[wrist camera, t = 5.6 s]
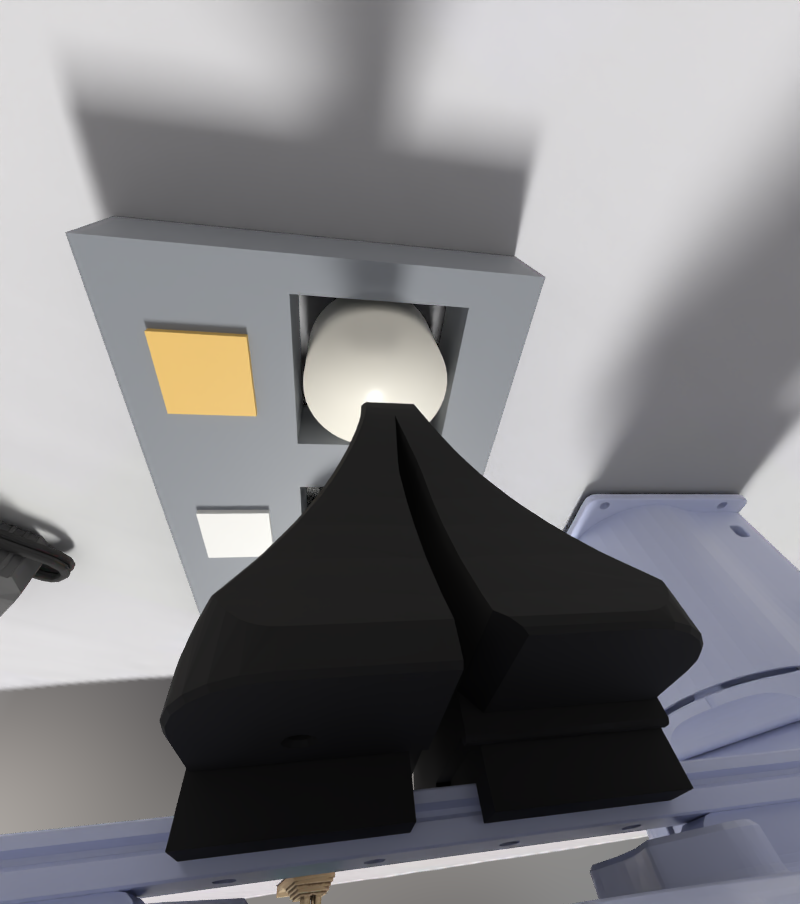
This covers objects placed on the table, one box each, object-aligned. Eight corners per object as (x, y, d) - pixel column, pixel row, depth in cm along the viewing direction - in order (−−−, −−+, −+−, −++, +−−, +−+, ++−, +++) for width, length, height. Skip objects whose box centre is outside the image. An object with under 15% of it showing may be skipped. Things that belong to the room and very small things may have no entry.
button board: (514, 256, 13) (548, 279, 11) (422, 609, 26) (429, 651, 24) (113, 216, 11) (60, 234, 9) (226, 618, 24) (215, 664, 22)
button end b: (442, 294, 13) (459, 322, 11) (422, 407, 16) (434, 446, 14) (306, 283, 13) (300, 311, 11) (310, 403, 15) (305, 443, 13)
